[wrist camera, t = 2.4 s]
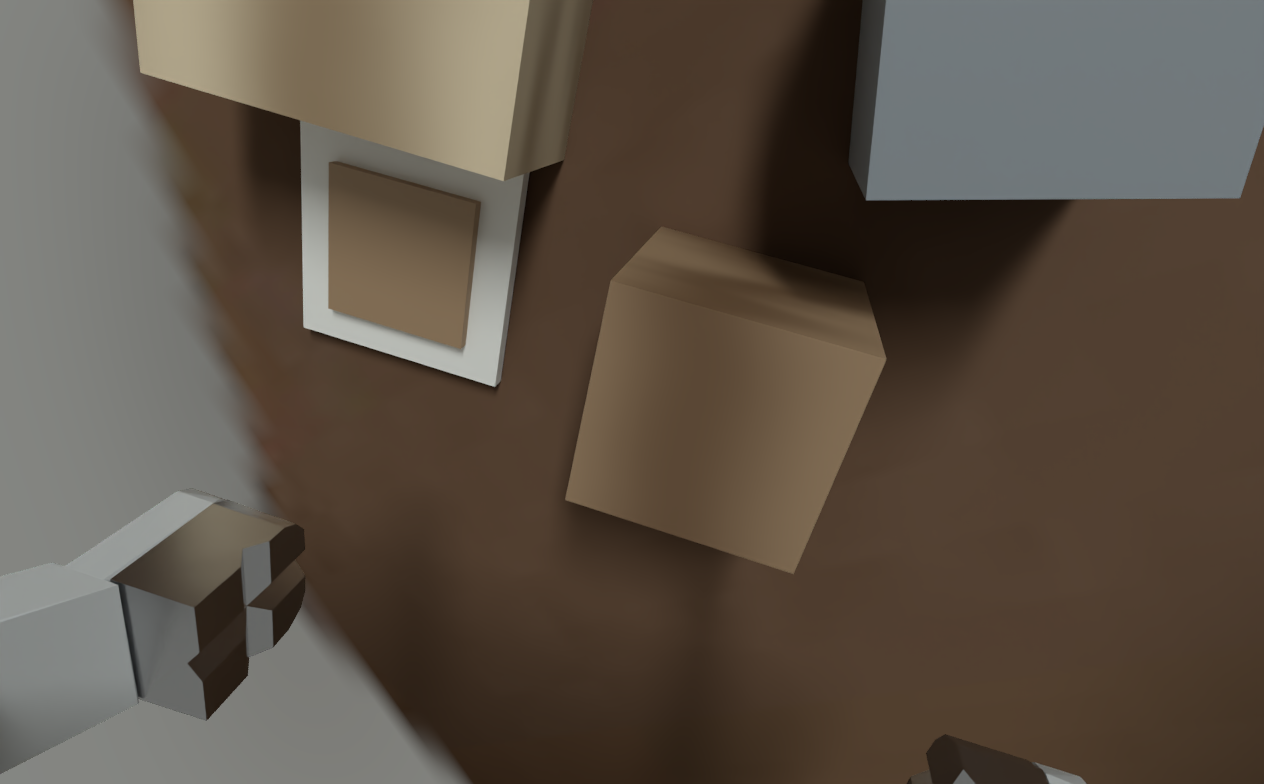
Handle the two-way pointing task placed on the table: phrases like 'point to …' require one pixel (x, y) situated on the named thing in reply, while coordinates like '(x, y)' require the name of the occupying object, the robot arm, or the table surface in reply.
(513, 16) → the oak base block
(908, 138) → the slate cube
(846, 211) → the table surface
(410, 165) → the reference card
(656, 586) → the table surface
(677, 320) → the walnut cube
